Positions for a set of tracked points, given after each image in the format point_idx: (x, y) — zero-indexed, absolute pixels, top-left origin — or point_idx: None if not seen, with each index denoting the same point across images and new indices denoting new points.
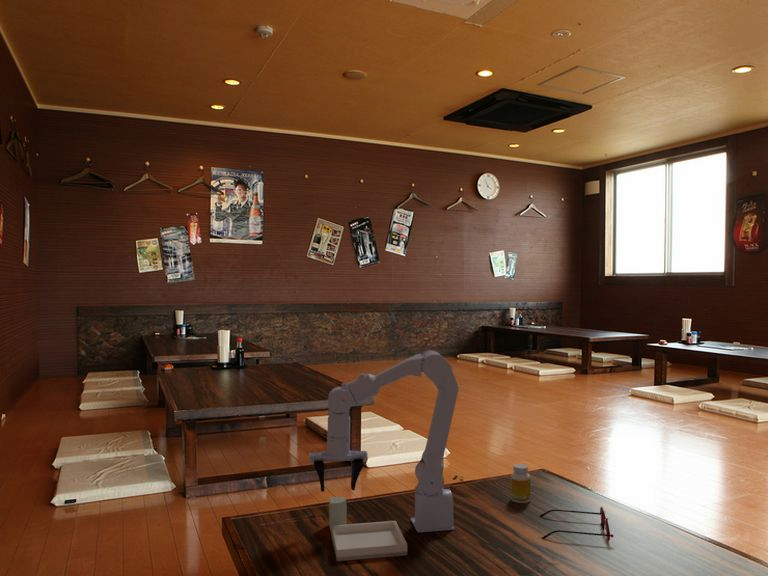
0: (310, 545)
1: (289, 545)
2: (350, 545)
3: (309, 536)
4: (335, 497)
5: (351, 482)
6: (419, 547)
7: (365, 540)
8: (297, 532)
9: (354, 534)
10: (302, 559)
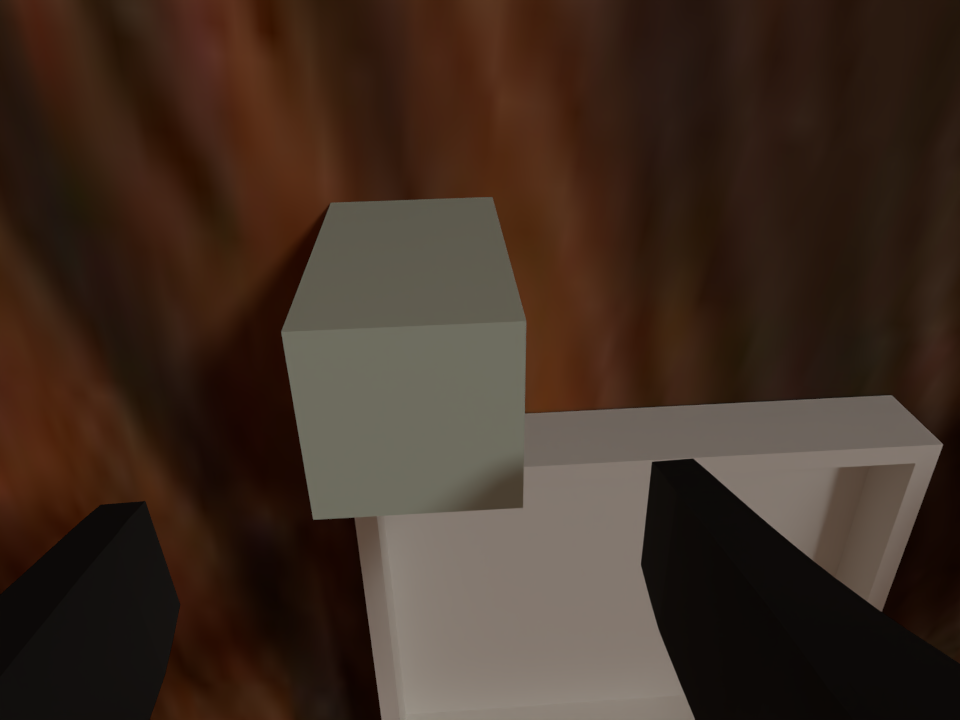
0: (201, 538)
1: (34, 526)
2: (489, 618)
3: (167, 410)
4: (382, 336)
5: (683, 566)
6: (917, 612)
7: (605, 569)
8: (34, 326)
9: (543, 485)
10: (178, 679)
